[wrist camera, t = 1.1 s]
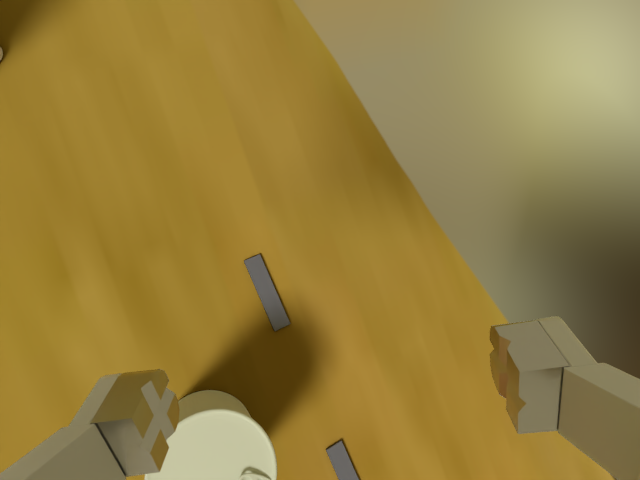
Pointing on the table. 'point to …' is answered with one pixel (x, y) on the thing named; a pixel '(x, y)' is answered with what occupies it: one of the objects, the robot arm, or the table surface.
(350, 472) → the line strip
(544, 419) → the robot arm
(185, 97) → the table surface
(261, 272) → the strip
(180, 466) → the can
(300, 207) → the table surface
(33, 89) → the table surface
